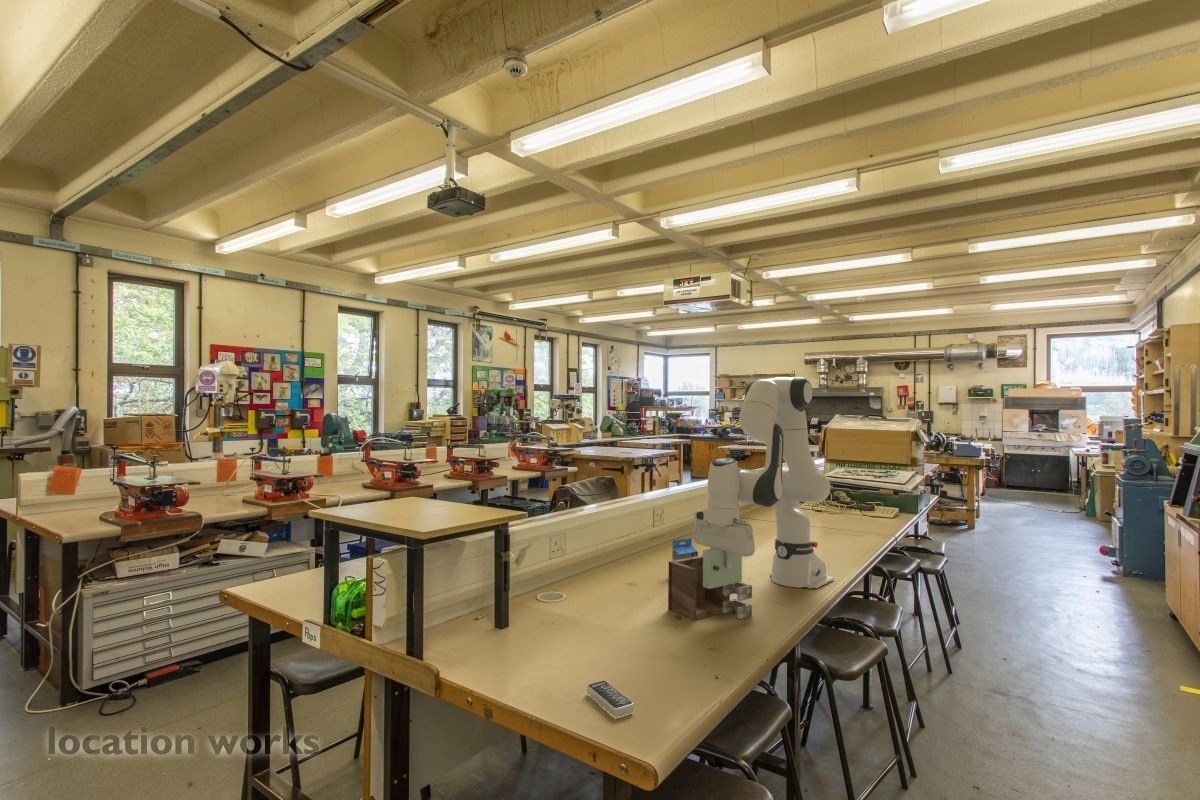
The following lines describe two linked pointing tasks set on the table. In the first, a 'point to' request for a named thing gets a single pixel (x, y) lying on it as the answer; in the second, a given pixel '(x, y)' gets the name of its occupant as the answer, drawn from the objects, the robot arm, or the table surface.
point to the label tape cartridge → (683, 549)
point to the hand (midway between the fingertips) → (722, 565)
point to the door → (720, 569)
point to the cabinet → (703, 592)
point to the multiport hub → (610, 698)
